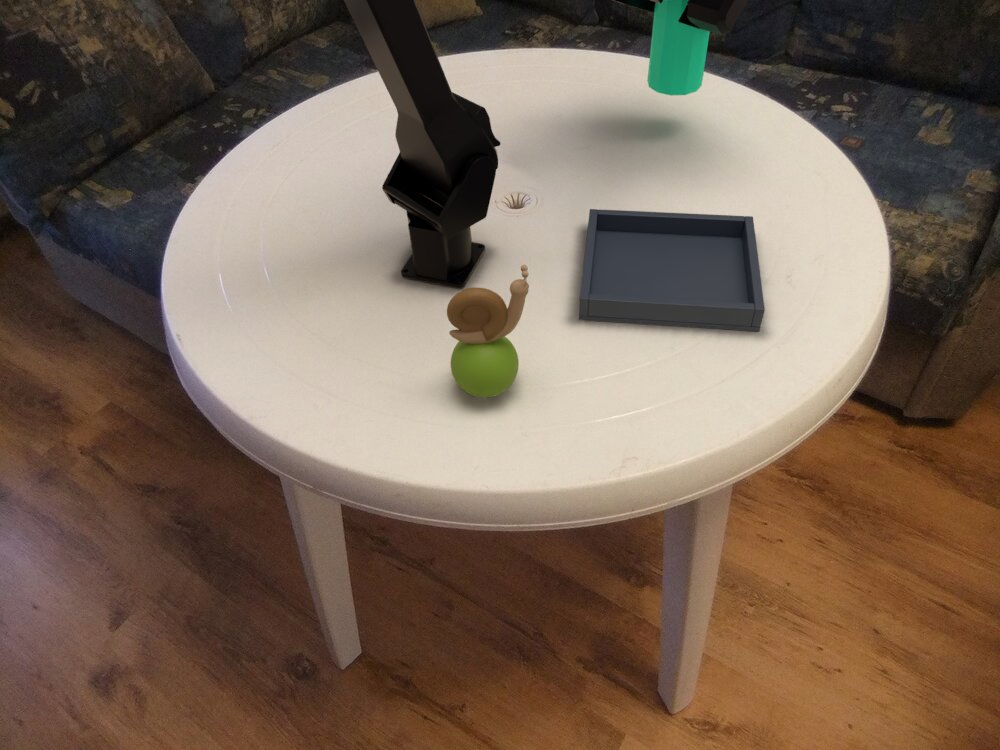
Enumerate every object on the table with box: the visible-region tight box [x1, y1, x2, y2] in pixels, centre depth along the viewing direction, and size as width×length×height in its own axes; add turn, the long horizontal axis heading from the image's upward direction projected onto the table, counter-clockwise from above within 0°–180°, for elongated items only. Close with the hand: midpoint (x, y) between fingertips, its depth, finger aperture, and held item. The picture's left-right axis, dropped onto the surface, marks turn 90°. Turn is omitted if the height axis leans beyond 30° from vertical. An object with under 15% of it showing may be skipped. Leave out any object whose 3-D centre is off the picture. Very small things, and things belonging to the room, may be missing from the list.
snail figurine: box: [446, 264, 530, 398], centre depth 61 cm, size 5×6×12 cm
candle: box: [647, 0, 711, 96], centre depth 84 cm, size 6×6×12 cm
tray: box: [578, 208, 766, 332], centre depth 73 cm, size 16×14×2 cm
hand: (690, 19), depth 85 cm, fingers closed on candle, 5 cm apart
